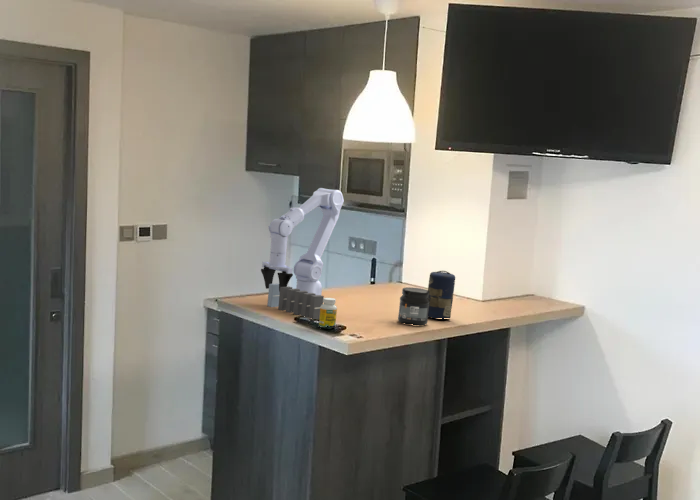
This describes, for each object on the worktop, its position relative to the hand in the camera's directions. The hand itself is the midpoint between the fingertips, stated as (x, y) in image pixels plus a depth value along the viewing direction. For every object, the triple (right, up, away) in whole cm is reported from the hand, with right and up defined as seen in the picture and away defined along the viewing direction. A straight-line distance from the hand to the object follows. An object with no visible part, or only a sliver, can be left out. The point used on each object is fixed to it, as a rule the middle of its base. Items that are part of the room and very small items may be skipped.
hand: (275, 290), depth 273 cm
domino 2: (+4, -7, -4) cm, 8 cm away
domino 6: (+15, -9, -15) cm, 23 cm away
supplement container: (+49, -12, -5) cm, 50 cm away
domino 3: (+6, -7, -6) cm, 12 cm away
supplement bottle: (+19, -11, -27) cm, 35 cm away
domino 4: (+9, -8, -9) cm, 15 cm away
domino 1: (-1, -6, +1) cm, 6 cm away
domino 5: (+12, -8, -12) cm, 19 cm away
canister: (+59, -11, +8) cm, 61 cm away
